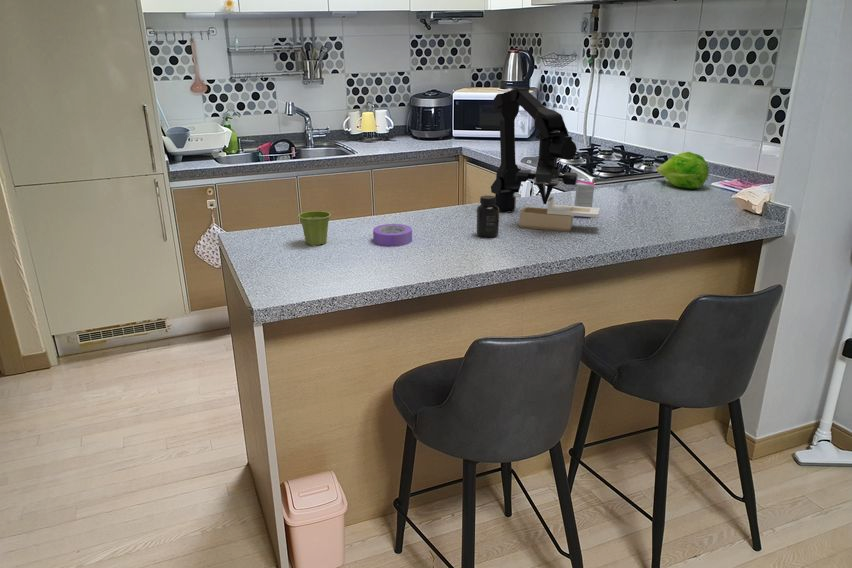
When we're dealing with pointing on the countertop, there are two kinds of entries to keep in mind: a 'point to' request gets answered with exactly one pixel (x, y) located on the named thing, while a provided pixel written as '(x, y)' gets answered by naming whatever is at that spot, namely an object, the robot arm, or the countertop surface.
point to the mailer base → (544, 220)
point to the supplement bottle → (487, 217)
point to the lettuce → (685, 170)
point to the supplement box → (584, 195)
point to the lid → (571, 210)
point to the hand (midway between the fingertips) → (544, 203)
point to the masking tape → (392, 235)
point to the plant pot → (315, 226)
